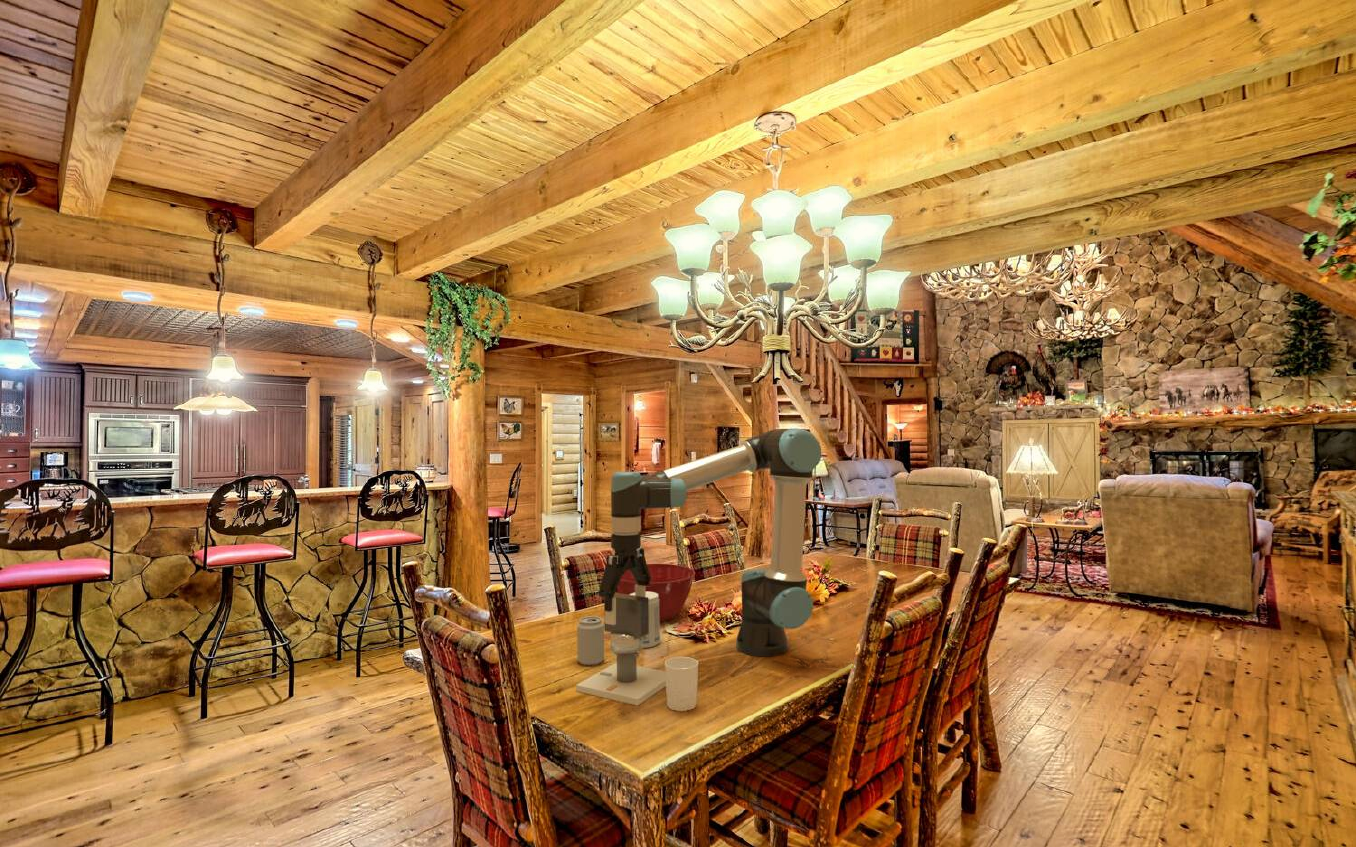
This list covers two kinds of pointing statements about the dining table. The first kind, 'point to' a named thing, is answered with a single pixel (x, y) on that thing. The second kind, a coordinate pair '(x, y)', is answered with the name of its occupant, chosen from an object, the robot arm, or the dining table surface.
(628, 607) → the coupling
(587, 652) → the can
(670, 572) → the mixing bowl
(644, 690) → the post base
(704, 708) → the dining table surface
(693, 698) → the white cup
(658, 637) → the supplement tub
